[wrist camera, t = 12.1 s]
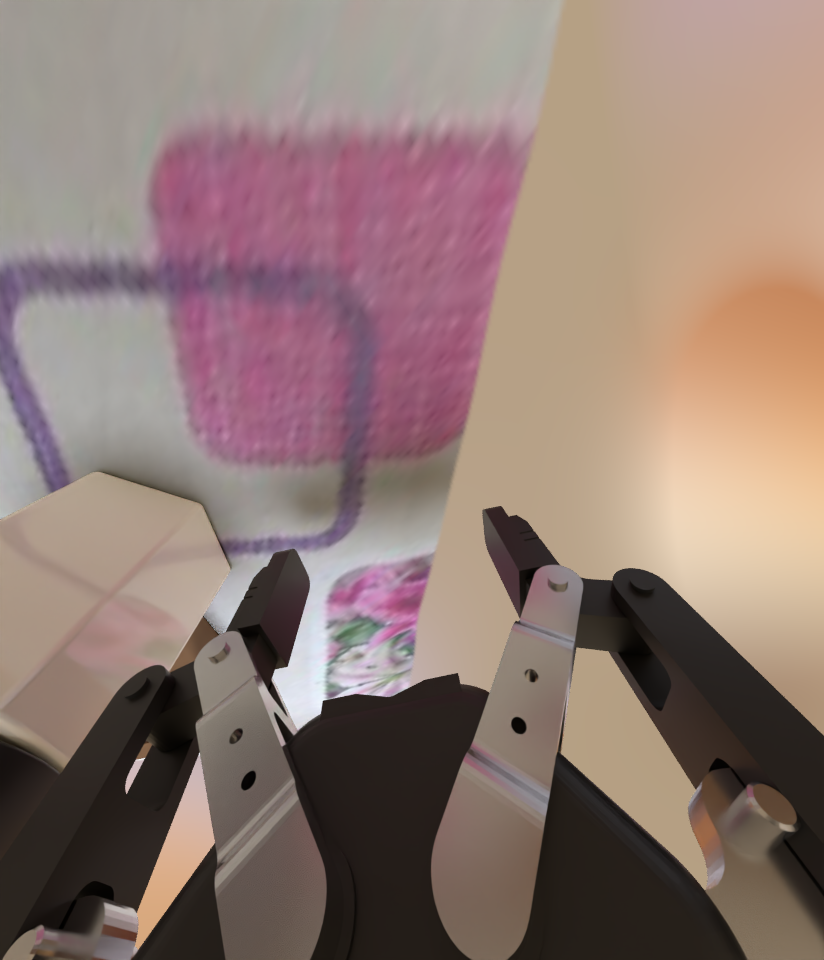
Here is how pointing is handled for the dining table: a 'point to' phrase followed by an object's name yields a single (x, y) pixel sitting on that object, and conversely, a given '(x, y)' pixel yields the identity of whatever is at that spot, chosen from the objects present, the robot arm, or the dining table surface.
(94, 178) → the dining table surface
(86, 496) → the jar
